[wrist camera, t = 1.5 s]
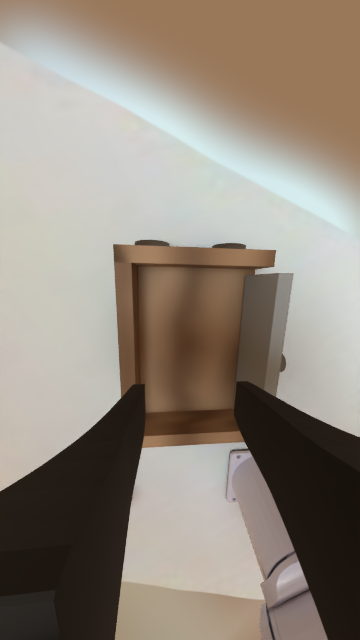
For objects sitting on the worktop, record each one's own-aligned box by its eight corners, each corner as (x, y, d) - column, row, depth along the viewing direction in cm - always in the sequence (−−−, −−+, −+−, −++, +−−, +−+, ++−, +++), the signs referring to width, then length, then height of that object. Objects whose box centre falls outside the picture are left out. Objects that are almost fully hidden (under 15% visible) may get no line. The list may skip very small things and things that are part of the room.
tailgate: (264, 276, 17) (304, 273, 12) (249, 405, 20) (278, 446, 15) (245, 275, 17) (278, 273, 12) (233, 406, 19) (256, 447, 15)
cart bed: (247, 250, 18) (277, 239, 14) (232, 411, 22) (252, 448, 17) (127, 246, 17) (112, 232, 13) (133, 416, 21) (124, 456, 16)
